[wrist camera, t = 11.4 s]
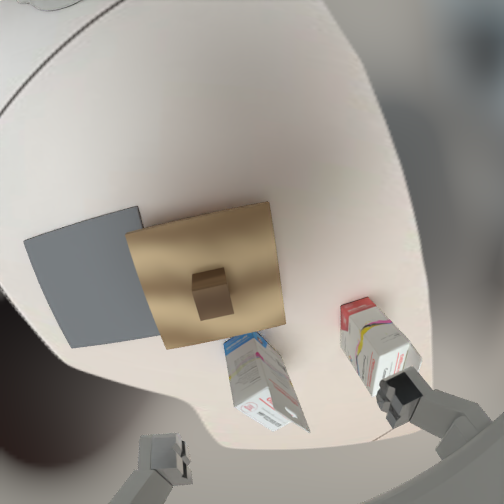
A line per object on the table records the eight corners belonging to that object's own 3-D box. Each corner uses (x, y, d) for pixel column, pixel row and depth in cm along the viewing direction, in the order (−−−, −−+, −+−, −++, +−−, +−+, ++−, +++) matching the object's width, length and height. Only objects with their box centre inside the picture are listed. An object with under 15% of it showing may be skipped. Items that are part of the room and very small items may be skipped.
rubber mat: (25, 240, 29) (23, 241, 28) (137, 205, 30) (136, 206, 30) (72, 346, 35) (71, 348, 35) (176, 329, 37) (176, 332, 36)
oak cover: (126, 232, 26) (115, 248, 22) (267, 201, 28) (279, 211, 24) (167, 345, 32) (164, 370, 28) (284, 320, 33) (295, 343, 29)
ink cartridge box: (338, 305, 40) (391, 371, 27) (367, 295, 41) (426, 354, 27) (338, 348, 43) (381, 414, 30) (365, 338, 44) (412, 399, 30)
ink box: (221, 343, 39) (235, 429, 25) (250, 324, 39) (275, 407, 25) (256, 373, 42) (278, 451, 29) (282, 357, 42) (314, 433, 28)
